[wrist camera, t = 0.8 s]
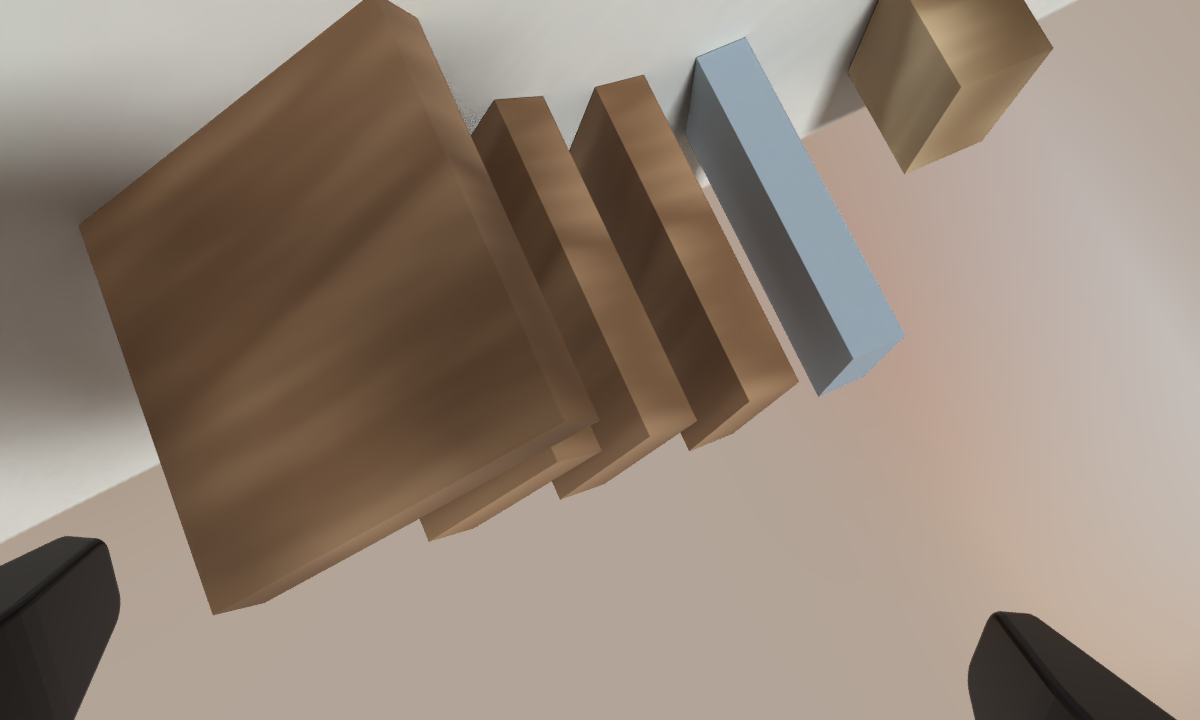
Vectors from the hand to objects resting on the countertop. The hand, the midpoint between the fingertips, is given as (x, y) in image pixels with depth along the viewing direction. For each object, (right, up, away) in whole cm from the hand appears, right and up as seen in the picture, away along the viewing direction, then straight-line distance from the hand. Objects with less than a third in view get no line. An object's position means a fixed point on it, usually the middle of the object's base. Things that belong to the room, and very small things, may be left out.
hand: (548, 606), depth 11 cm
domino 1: (-8, +8, +14) cm, 18 cm away
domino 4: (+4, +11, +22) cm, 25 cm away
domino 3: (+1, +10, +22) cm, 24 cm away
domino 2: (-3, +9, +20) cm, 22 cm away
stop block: (+11, +14, +23) cm, 29 cm away
